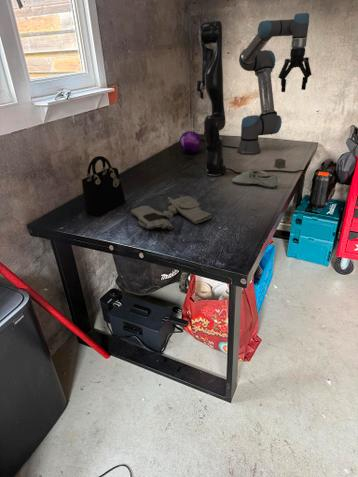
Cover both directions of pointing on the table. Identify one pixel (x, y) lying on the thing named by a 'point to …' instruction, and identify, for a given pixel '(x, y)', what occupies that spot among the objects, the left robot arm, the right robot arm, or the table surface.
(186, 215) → the pair of gloves
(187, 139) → the decorative orb
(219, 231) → the table surface
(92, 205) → the handbag
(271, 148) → the table surface
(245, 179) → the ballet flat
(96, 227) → the table surface
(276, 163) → the metal block
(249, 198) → the table surface
